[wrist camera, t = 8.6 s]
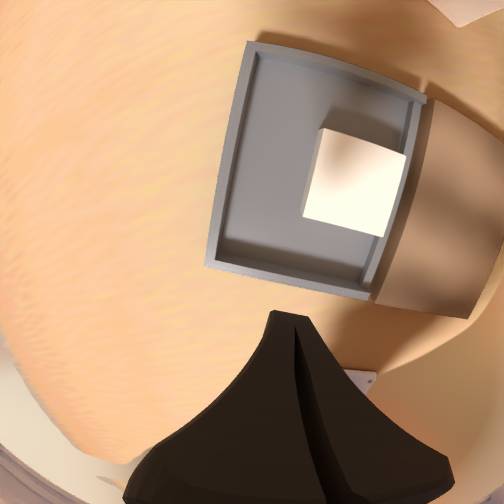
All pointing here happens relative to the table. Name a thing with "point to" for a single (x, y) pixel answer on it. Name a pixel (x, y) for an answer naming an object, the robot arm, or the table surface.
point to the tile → (351, 183)
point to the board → (444, 218)
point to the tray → (301, 167)
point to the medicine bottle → (466, 9)
